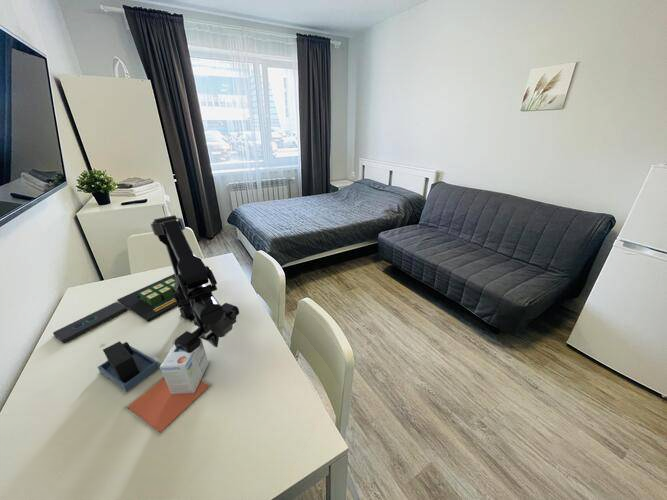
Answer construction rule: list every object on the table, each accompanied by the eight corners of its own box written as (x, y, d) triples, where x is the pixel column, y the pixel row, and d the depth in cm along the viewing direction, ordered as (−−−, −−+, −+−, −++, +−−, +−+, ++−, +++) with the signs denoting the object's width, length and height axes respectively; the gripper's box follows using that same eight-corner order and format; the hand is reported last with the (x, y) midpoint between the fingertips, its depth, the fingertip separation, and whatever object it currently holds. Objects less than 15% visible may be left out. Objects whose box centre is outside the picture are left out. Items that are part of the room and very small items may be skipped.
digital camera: (145, 371, 79) (137, 354, 76) (123, 384, 75) (114, 366, 72) (132, 355, 85) (124, 338, 82) (111, 366, 81) (102, 349, 78)
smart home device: (51, 332, 94) (115, 301, 110) (54, 335, 95) (117, 304, 110) (61, 340, 90) (126, 307, 106) (64, 343, 91) (128, 310, 107)
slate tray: (133, 351, 87) (130, 345, 86) (159, 367, 81) (157, 361, 80) (100, 372, 80) (97, 367, 79) (127, 392, 74) (123, 386, 73)
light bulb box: (187, 363, 82) (177, 336, 77) (209, 362, 82) (201, 334, 78) (170, 395, 72) (157, 366, 68) (195, 393, 73) (185, 364, 68)
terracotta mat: (177, 367, 81) (177, 367, 81) (209, 385, 75) (209, 385, 75) (127, 407, 70) (127, 406, 70) (160, 432, 64) (160, 432, 64)
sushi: (148, 321, 100) (145, 313, 99) (117, 301, 113) (114, 293, 111) (207, 289, 119) (205, 282, 118) (176, 274, 132) (174, 268, 130)
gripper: (194, 335, 66) (209, 380, 72) (247, 294, 81) (256, 334, 87) (165, 323, 70) (182, 366, 77) (221, 286, 85) (231, 325, 92)
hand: (215, 346), depth 83 cm, fingers closed
